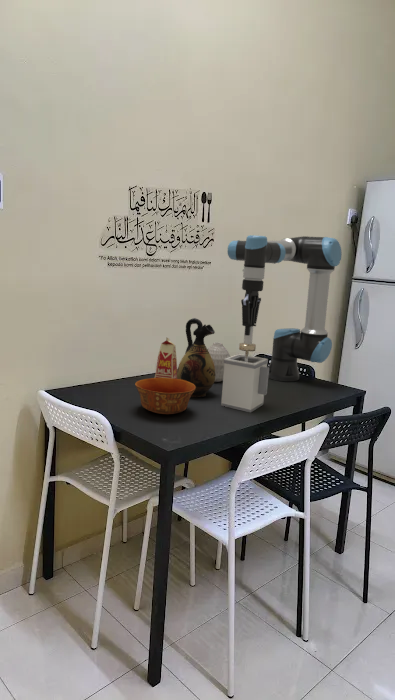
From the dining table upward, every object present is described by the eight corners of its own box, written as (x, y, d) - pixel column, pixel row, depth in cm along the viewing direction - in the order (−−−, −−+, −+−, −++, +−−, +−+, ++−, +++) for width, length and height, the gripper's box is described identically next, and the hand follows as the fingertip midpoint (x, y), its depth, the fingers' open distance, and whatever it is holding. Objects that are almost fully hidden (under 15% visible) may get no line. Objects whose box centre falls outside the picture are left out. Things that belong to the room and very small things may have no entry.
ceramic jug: (221, 393, 209) (226, 320, 203) (201, 402, 196) (207, 324, 190) (185, 385, 217) (189, 314, 211) (164, 393, 204) (168, 318, 198)
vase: (213, 385, 221) (216, 346, 217) (195, 378, 230) (197, 341, 227) (235, 381, 229) (238, 344, 225) (216, 374, 238) (219, 339, 235)
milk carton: (174, 386, 215) (176, 339, 211) (152, 384, 216) (154, 337, 212) (178, 381, 223) (181, 335, 219) (157, 378, 225) (159, 333, 221)
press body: (234, 398, 204) (238, 353, 200) (270, 406, 197) (275, 360, 193) (220, 405, 193) (224, 358, 189) (258, 414, 186) (262, 365, 182)
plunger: (236, 394, 201) (241, 340, 197) (259, 399, 197) (264, 344, 193) (226, 400, 193) (230, 344, 189) (249, 405, 189) (254, 348, 184)
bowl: (150, 398, 196) (151, 373, 194) (202, 408, 189) (204, 382, 187) (123, 414, 177) (124, 386, 175) (180, 425, 170) (181, 396, 168)
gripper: (250, 277, 193) (245, 339, 198) (236, 278, 182) (230, 344, 187) (269, 279, 190) (263, 342, 195) (255, 280, 179) (250, 347, 183)
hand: (247, 343), depth 191 cm, fingers closed
